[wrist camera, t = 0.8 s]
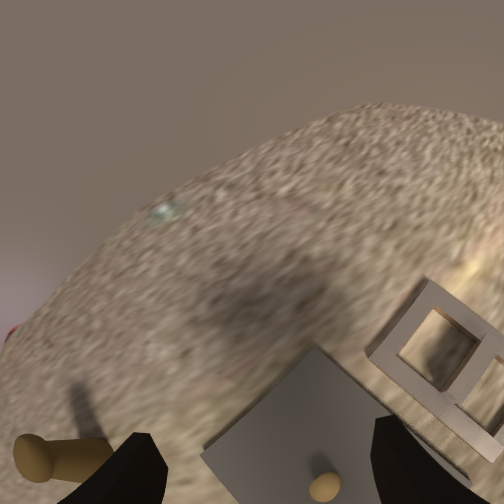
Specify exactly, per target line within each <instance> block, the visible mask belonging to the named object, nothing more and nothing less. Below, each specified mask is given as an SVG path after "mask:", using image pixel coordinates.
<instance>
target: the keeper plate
mask: <svg viewBox="0 0 504 504" xmlns="http://www.w3.org/2000/svg"><path fill="white" fill-rule="evenodd" d="M389 415H392V414H391V413H390V412H388V411H387V410H386V409H385V408H384V407H383V406H382V405H380V404H379V403H378V402H377V401H376V400H375V399H374V398H373V397H371V396H370V395H369V394H368V393H367V392H366V391H365V390H364V389H362V388H361V387H360V386H359V385H358V384H357V383H356V382H355V381H353V380H352V379H351V378H350V377H349V376H348V375H347V374H346V373H345V372H343V371H342V370H341V369H340V368H339V367H338V366H337V365H336V364H335V363H333V362H332V361H331V360H330V359H329V358H328V357H327V356H326V355H325V354H324V353H322V352H321V351H320V350H319V349H318V348H317V347H316V346H314V347H313V348H312V350H311V351H310V352H309V353H308V354H307V355H306V356H305V357H304V358H303V359H302V360H301V361H300V362H299V363H298V364H297V365H296V366H295V367H294V368H293V369H292V370H291V371H290V372H289V373H288V374H287V375H286V376H285V377H284V378H283V379H282V380H281V381H280V382H279V383H278V384H277V385H276V386H275V387H274V388H273V389H272V390H271V391H270V392H269V393H268V394H267V395H266V396H265V397H264V398H263V399H262V400H261V401H260V402H259V403H258V404H257V405H256V406H255V407H253V408H252V409H251V410H250V411H249V412H248V413H247V414H246V415H245V416H244V417H243V418H242V419H240V420H239V421H238V422H237V423H236V424H235V425H234V426H233V427H232V428H230V429H229V430H228V431H227V432H226V433H225V434H224V435H223V436H221V437H220V438H219V439H218V440H217V441H216V442H214V443H213V444H212V445H211V446H210V447H209V448H207V449H206V450H205V451H204V452H203V453H201V454H200V456H201V458H202V459H203V460H204V462H205V463H206V464H207V465H208V467H209V468H210V469H211V470H212V472H213V473H214V474H215V475H216V477H217V478H218V479H219V480H220V481H221V483H222V484H223V485H224V486H225V487H226V489H227V490H228V491H229V492H230V493H231V494H232V496H233V497H234V498H235V499H236V500H237V501H238V502H239V503H240V504H381V501H380V497H379V494H378V491H377V488H376V484H375V481H374V475H373V470H372V465H371V459H370V452H371V446H372V440H373V433H374V426H375V419H376V418H380V417H384V416H389ZM405 427H406V426H405ZM406 428H407V427H406ZM407 429H408V428H407ZM408 431H409V432H410V433H411V434H412V435H413V436H414V438H415V439H416V440H417V441H418V442H419V443H420V444H421V445H422V446H423V448H424V449H425V450H426V451H427V452H428V453H429V454H430V455H431V456H432V457H433V458H434V459H435V460H436V461H437V462H438V463H439V464H440V465H441V466H442V467H443V468H444V469H445V470H447V471H448V472H449V473H450V474H451V475H452V476H453V477H454V478H456V479H457V480H458V481H459V482H460V483H462V484H463V485H464V486H466V487H467V488H468V489H469V488H470V487H471V486H472V485H473V483H472V482H471V481H469V480H468V479H467V478H466V477H464V476H463V475H462V474H461V473H460V472H458V471H457V470H456V469H455V468H454V467H453V466H451V465H450V464H449V463H448V462H447V461H445V460H444V459H443V458H442V457H441V456H439V455H438V454H437V453H436V452H435V451H434V450H432V449H431V448H430V447H429V446H428V445H427V444H425V443H424V442H423V441H422V440H421V439H420V438H418V437H417V436H416V435H415V434H414V433H413V432H411V431H410V430H409V429H408Z"/></svg>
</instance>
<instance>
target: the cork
mask: <svg viewBox="0 0 504 504" xmlns="http://www.w3.org/2000/svg"><path fill="white" fill-rule="evenodd" d="M113 453H114V452H113V450H112V448H111V446H110V445H109V444H108V443H107V442H106V441H105V440H103V439H101V438H86V439H73V440H55V441H45V440H44V439H43V438H42V437H39V436H37V435H34V434H23V435H21V436H19V437H18V438H17V439H16V441H15V444H14V449H13V454H14V461H15V464H16V467H17V469H18V471H19V472H20V474H21V475H22V476H23V477H24V478H26V479H27V480H29V481H31V482H35V483H42V482H46V481H48V480H49V479H50V478H52V479H58V480H64V481H71V482H78V483H84V482H85V481H86V480H87V479H88V478H89V477H90V476H91V475H92V474H93V473H95V472H96V471H97V470H98V469H99V468H100V467H101V466H102V465H103V464H104V463H105V462H106V461H107V460H108V459H109V457H110V456H111V455H112V454H113Z"/></svg>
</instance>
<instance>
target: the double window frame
mask: <svg viewBox="0 0 504 504" xmlns="http://www.w3.org/2000/svg"><path fill="white" fill-rule="evenodd" d="M432 309H434V310H435V311H436V312H438V313H439V314H440V315H441V316H443V317H444V318H445V319H447V320H448V321H449V322H450V323H452V324H453V325H454V326H456V327H457V328H458V329H459V330H461V331H462V332H463V333H464V334H466V335H467V336H468V337H469V338H471V339H472V340H473V341H474V342H475V343H474V345H473V346H472V348H471V349H470V351H469V352H468V354H467V355H466V356H465V358H464V359H463V361H462V362H461V363H460V365H459V366H458V368H457V369H456V370H455V372H454V373H453V374H452V376H451V377H450V378H449V380H448V381H447V382H446V384H445V385H444V386H443V387H442V389H441V390H440V391H438V390H436V389H435V388H434V387H433V386H432V385H431V384H429V383H428V382H427V381H426V380H425V379H423V378H422V377H421V376H420V375H419V374H417V373H416V372H415V371H414V370H413V369H411V368H410V367H409V366H408V365H407V364H405V363H404V362H403V361H402V360H401V359H399V358H398V357H397V355H398V354H399V352H400V351H401V350H402V349H403V347H404V346H405V345H406V344H407V342H408V341H409V340H410V339H411V337H412V336H413V335H414V334H415V332H416V331H417V330H418V328H419V327H420V326H421V324H422V323H423V322H424V320H425V319H426V318H427V316H428V315H429V314H430V312H431V311H432ZM494 358H495V359H496V360H497V361H499V362H500V363H501V364H502V365H503V366H504V336H503V335H502V334H501V333H500V332H499V331H497V330H496V329H495V328H494V327H492V326H491V325H490V324H489V323H487V322H486V321H485V320H484V319H482V318H481V317H480V316H479V315H477V314H476V313H475V312H473V311H472V310H471V309H470V308H468V307H467V306H466V305H464V304H463V303H462V302H460V301H459V300H458V299H457V298H455V297H454V296H453V295H451V294H450V293H449V292H447V291H446V290H444V289H443V288H442V287H440V286H439V285H438V284H436V283H435V282H434V281H432V280H430V281H429V282H428V284H427V285H426V287H425V288H424V289H423V291H422V292H421V294H420V295H419V296H418V298H417V299H416V300H415V302H414V303H413V304H412V306H411V307H410V308H409V310H408V311H407V312H406V313H405V315H404V316H403V317H402V319H401V320H400V321H399V322H398V324H397V325H396V326H395V327H394V329H393V330H392V331H391V332H390V334H389V335H388V336H387V337H386V338H385V340H384V341H383V342H382V343H381V344H380V345H379V347H378V348H377V349H376V350H375V351H374V352H373V354H372V355H371V356H370V357H369V358H368V359H369V361H370V362H372V363H373V364H374V365H375V366H376V367H377V368H379V369H380V370H381V371H382V372H383V373H384V374H386V375H387V376H388V377H389V378H390V379H391V380H393V381H394V382H395V383H396V384H397V385H398V386H400V387H401V388H402V389H403V390H404V391H405V392H407V393H408V394H409V395H410V396H411V397H412V398H414V399H415V400H416V401H417V402H418V403H419V404H421V405H422V406H423V407H424V408H425V409H427V410H428V411H429V412H430V413H431V414H432V415H434V416H435V417H436V418H437V419H438V420H439V421H441V422H442V423H443V424H444V425H445V426H446V427H448V428H449V429H450V430H451V431H452V432H454V433H455V434H456V435H457V436H458V437H459V438H461V439H462V440H463V441H464V442H465V443H466V444H468V445H469V446H470V447H471V448H472V449H474V450H475V451H476V452H477V453H478V454H479V455H481V456H482V457H483V458H484V459H485V460H487V461H488V462H490V463H493V462H494V461H495V459H496V458H497V457H498V456H499V454H500V453H501V452H502V450H503V449H504V417H503V419H502V420H501V421H500V423H499V424H498V425H497V427H496V428H495V430H494V431H493V432H492V433H491V435H490V434H488V433H487V432H486V431H485V430H484V429H482V428H481V427H480V426H479V425H478V424H477V423H475V422H474V421H473V420H472V419H471V418H470V417H468V416H467V415H466V414H465V413H464V412H463V411H461V410H460V409H459V408H458V407H457V406H455V405H454V404H462V403H463V401H464V400H465V399H466V398H467V396H468V395H469V393H470V392H471V391H472V389H473V388H474V387H475V385H476V384H477V382H478V381H479V380H480V378H481V377H482V375H483V374H484V372H485V371H486V369H487V368H488V366H489V365H490V363H491V362H492V360H493V359H494Z"/></svg>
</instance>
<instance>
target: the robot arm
mask: <svg viewBox="0 0 504 504" xmlns="http://www.w3.org/2000/svg"><path fill="white" fill-rule="evenodd" d="M370 459H371V465H372V470H373V475H374V481H375V484H376V488H377V491H378V494H379V497H380V501H381V504H490V503H489V502H487V501H486V500H484V499H483V498H481V497H479V496H478V495H476V494H475V493H474V492H472V491H471V490H470V489H468V488H467V487H466V486H464V485H463V484H462V483H460V482H459V481H458V480H457V479H456V478H454V477H453V476H452V475H451V474H450V473H449V472H448V471H447V470H445V469H444V468H443V467H442V466H441V465H440V464H439V463H438V462H437V461H436V460H435V459H434V458H433V457H432V456H431V455H430V454H429V453H428V452H427V451H426V450H425V449H424V448H423V446H422V445H421V444H420V443H419V442H418V441H417V440H416V439H415V438H414V436H413V435H412V434H411V433H410V432H409V431H408V429H407V428H406V427H405V426H404V424H403V423H402V422H401V421H400V419H399V418H398V417H397V416H396V415H394V414H393V415H389V416H384V417H380V418H376V419H375V426H374V433H373V440H372V446H371V452H370ZM167 475H168V466H167V465H166V463H165V461H164V459H163V458H162V456H161V454H160V452H159V450H158V449H157V447H156V445H155V443H154V441H153V439H152V437H151V435H150V433H137V432H133V433H132V434H131V435H130V436H129V438H128V439H127V440H126V441H125V442H124V443H123V444H122V445H121V446H120V447H119V448H118V449H117V450H116V451H115V452H114V453H113V454H112V455H111V456H110V457H109V459H108V460H107V461H106V462H105V463H104V464H103V465H102V466H101V467H100V468H99V469H98V470H97V471H96V472H95V473H93V474H92V475H91V476H90V477H89V478H88V479H87V480H86V481H85V482H84V483H82V484H81V485H80V486H79V487H78V488H77V489H76V490H74V491H73V492H72V493H71V494H69V495H68V496H67V497H65V498H64V499H63V500H61V501H60V502H58V503H57V504H162V500H163V497H164V493H165V488H166V482H167Z"/></svg>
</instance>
